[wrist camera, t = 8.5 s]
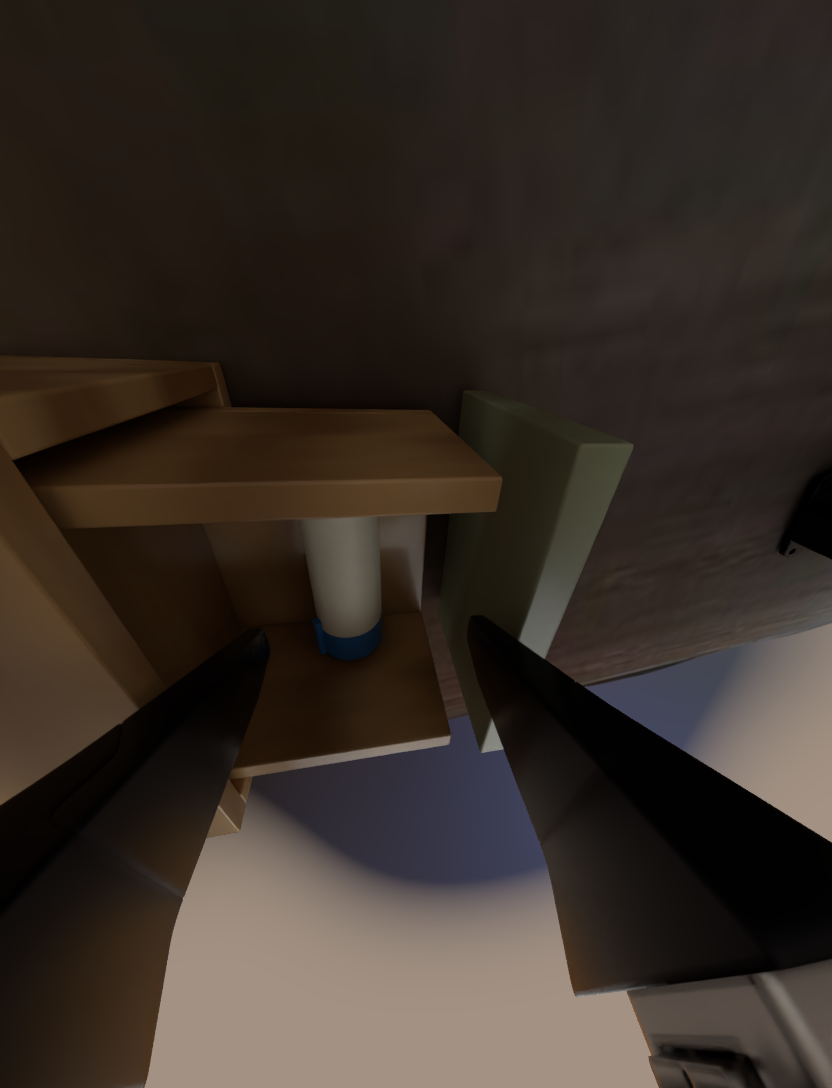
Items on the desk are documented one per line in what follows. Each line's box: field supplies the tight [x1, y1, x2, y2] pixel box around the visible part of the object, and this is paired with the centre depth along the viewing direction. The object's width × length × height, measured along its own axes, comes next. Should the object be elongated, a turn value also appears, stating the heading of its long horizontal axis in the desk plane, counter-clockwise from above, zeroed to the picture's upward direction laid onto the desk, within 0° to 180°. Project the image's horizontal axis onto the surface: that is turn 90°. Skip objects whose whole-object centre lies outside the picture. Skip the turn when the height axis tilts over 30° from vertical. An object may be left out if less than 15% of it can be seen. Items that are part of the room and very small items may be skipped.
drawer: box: [12, 390, 634, 780], centre depth 12 cm, size 14×12×8 cm
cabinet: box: [0, 355, 252, 838], centre depth 10 cm, size 14×14×10 cm
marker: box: [299, 516, 382, 660], centre depth 13 cm, size 8×3×3 cm
